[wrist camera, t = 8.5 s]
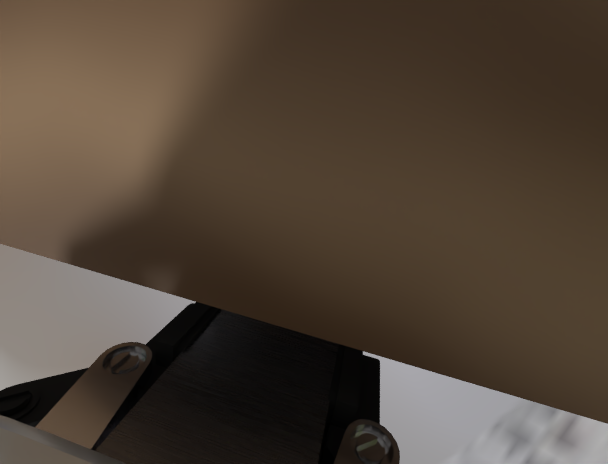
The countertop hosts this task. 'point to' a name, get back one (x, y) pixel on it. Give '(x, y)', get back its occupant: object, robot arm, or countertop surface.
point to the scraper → (233, 400)
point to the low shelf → (331, 170)
